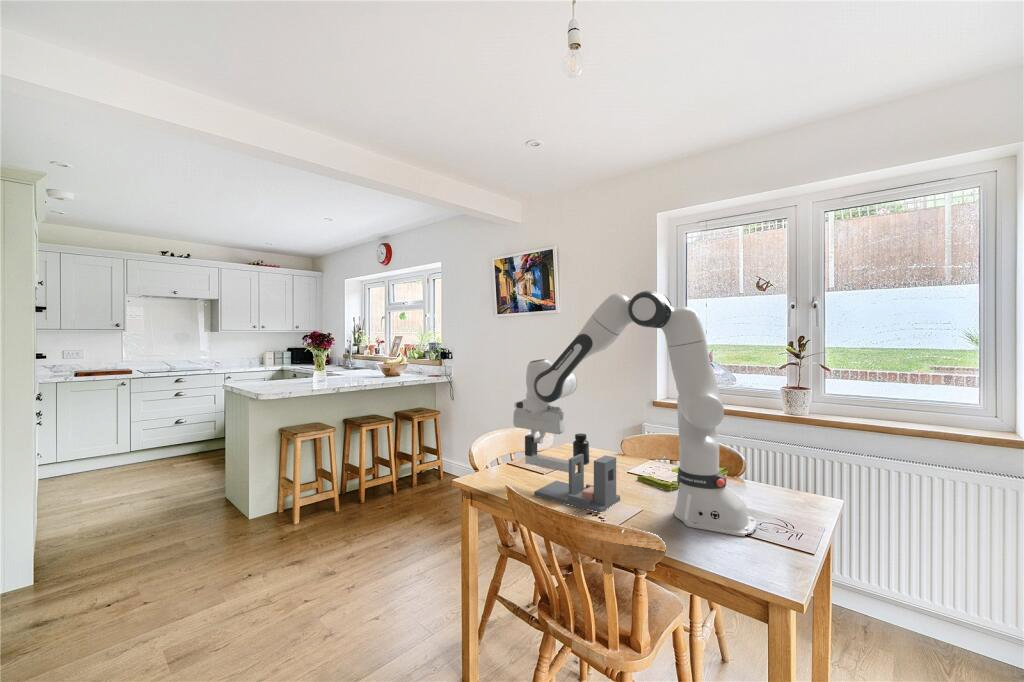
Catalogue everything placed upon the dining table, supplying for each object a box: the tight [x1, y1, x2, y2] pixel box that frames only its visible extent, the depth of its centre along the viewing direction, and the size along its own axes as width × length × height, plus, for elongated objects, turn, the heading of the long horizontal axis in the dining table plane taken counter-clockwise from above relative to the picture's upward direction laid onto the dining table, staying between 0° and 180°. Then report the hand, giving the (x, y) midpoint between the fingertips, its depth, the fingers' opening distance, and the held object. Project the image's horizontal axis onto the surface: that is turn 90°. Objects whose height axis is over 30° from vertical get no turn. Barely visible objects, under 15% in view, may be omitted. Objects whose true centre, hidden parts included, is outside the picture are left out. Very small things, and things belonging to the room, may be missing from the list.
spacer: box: [582, 486, 594, 502], centre depth 148 cm, size 4×6×2 cm, turn 140°
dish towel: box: [637, 466, 729, 493], centre depth 172 cm, size 15×36×3 cm, turn 123°
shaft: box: [524, 433, 569, 474], centre depth 158 cm, size 19×4×10 cm, turn 52°
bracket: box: [534, 454, 621, 513], centre depth 151 cm, size 25×14×15 cm, turn 52°
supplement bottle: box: [572, 433, 590, 465], centre depth 192 cm, size 7×7×12 cm
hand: (538, 442), depth 160 cm, fingers closed
